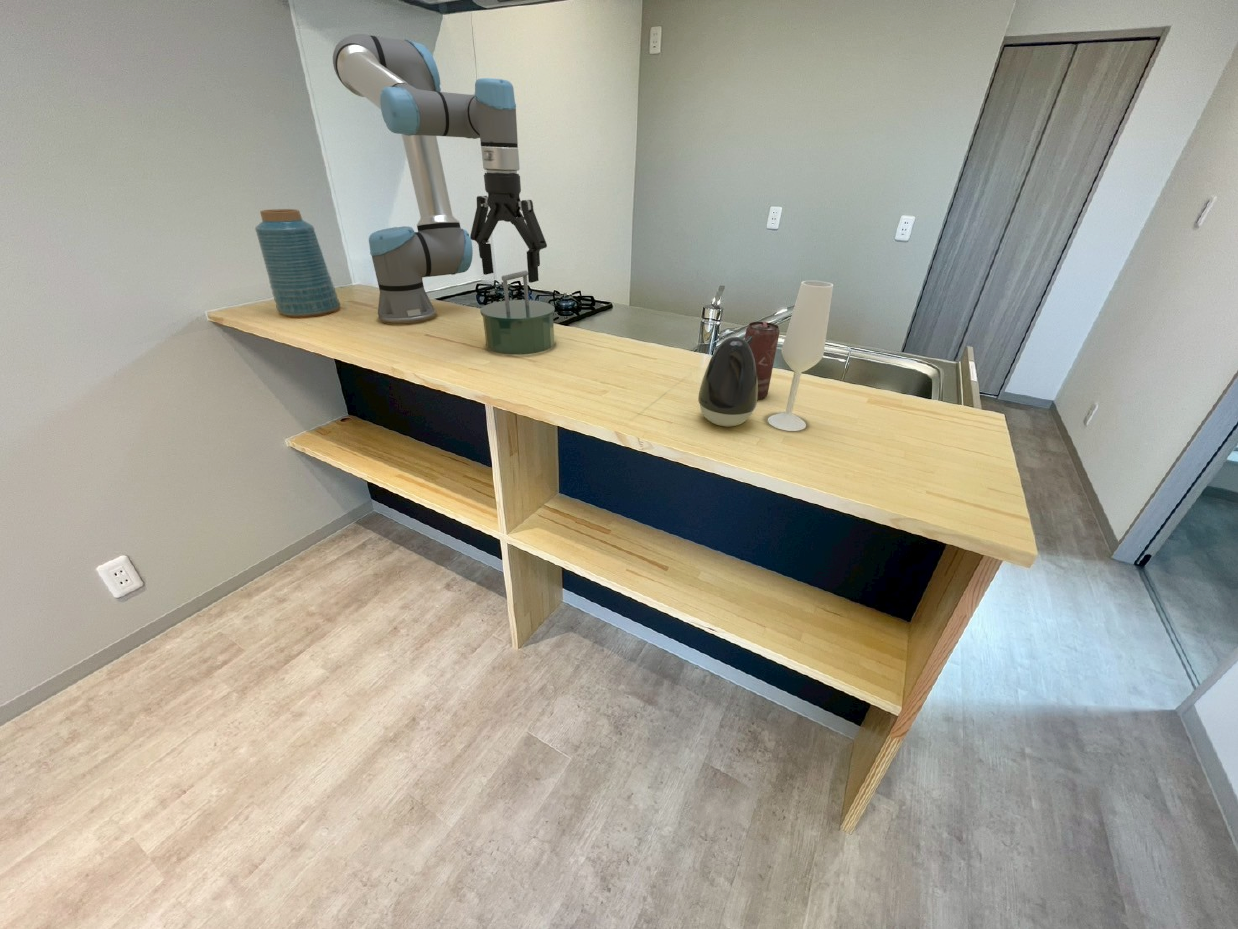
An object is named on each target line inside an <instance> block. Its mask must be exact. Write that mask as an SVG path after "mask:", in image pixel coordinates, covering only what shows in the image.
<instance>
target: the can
mask: <svg viewBox="0 0 1238 929" xmlns="http://www.w3.org/2000/svg"><path fill="white" fill-rule="evenodd" d="M749 336H752V337H753V341H752V343H751V344H750V347H751V349H752V352H753V355H754V359H755V364H756V370H757V380H758V397H757V401H758V400H763V399H765V398H766V397H767V396H768V393H769V389H770V385H771V379H772V373H773V368H774V365H775V364H774V363H775V357H776V353H777V348H778V343H779V338H780V329H779V325H777V323H772V322H768V321H766V320H765V321H764V320H763V321H752V322H750V323H748V326H746V328H745V334H744V340H745V339H746V338H747V337H749Z"/></svg>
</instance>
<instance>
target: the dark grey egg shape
mask: <svg viewBox="0 0 1238 929" xmlns="http://www.w3.org/2000/svg"><path fill="white" fill-rule="evenodd" d="M752 341H753V337H752V336H749V337H747V338H746V339H745V338H742V337H739V336H731V337H728V338H725V339H723V340H722V341H721V342H720V344H718V346H717V348H716V349H715V350H714V352H713V354H712V356H711V358H710V360H709V361H708V364H707V367H706V369H705V371H704V373H703V376H702V379H701V383H700V387H699V390H698V395H697V396H698V397H697V402H698V403H699V407H700V408H699V409H700V412H701V413H702V415H703V417H704V418H705V419H706V420H707V421H708V422H710V423H712V424H713V425H716V426H720V427H729V428H730V427H736V426H740V425H741V424H744V422H745V423H746V421H747V420H749V418H750V417H751V416H752V414H753V413H754V412H753V411H754V410H755V409H756V407H757V404H758V400H757V397H758V380H757V370H756V364H755V359H754V355H753V352H752V349H751V347H750V344H751V343H752Z"/></svg>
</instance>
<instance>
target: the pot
mask: <svg viewBox="0 0 1238 929" xmlns="http://www.w3.org/2000/svg"><path fill="white" fill-rule="evenodd" d="M482 322H483V331H484V336H485V338H484V339H485V346H486V349H487V350H490V351H492V352H494V353H498V354H502V355H510V356H511V355H513V356H514V355H517V356H519V355H530V354H531V355H532V354H537V353H543V352H545V351H548V350H550V349H552V348H553V347H554V346H555V323H554V313H553V314H552V315H550V316H548V317H545V318H541V319H536V320H528V321H501V320H494V319H489V318H486V317H484V316H482Z"/></svg>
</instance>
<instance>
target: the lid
mask: <svg viewBox="0 0 1238 929" xmlns="http://www.w3.org/2000/svg"><path fill="white" fill-rule="evenodd" d="M519 278H522V281H523V290H524V291H523V293H524V299H510V296H509V285H508V281H511V280H516V279H519ZM501 281H502V284H503V294H504V300H502V301H501V300H500V301H495V302H491V303H488V304H486V305H483V306H481V307H480V310H479V312H480V315H481V316H482V317H483V316H484V317H486V318H489V319H494V320H501V321H528V320H536V319H541V318H545V317H548V316H550V315H552V314H553V315H554V313H555V311H556V308H555V306H554V305H553V304H551V303H549V302H545V301H539V300H533V299H532V300H531V299H529V297H530V296H529V286H528V270H521V271H517V272H513V273H509V274H505V275H502V276H501Z"/></svg>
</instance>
